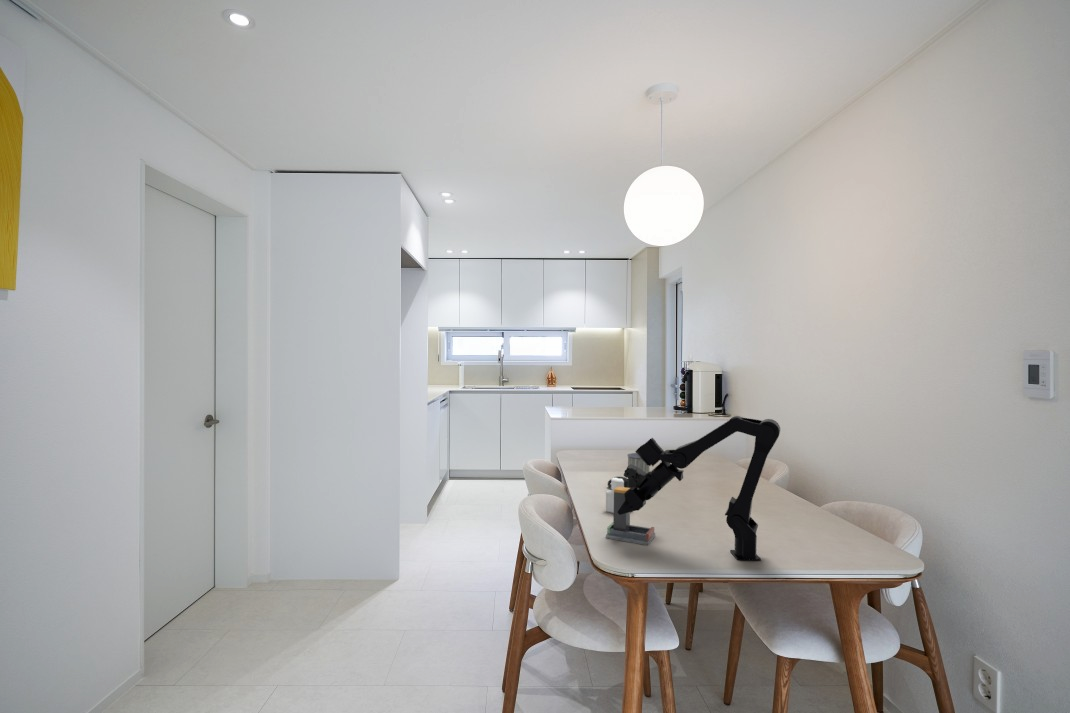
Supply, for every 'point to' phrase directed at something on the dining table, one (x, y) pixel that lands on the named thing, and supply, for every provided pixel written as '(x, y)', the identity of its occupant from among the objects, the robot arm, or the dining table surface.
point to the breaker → (619, 520)
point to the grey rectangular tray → (632, 534)
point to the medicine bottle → (610, 494)
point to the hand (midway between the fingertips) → (622, 509)
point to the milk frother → (637, 462)
